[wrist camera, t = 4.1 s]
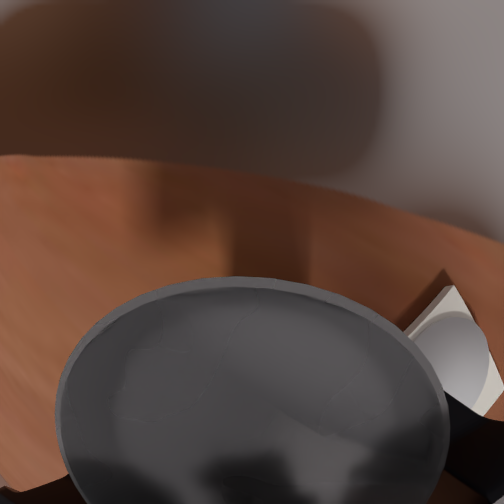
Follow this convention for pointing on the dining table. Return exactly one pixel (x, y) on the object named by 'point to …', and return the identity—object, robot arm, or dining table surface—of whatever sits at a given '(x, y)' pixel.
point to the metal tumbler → (250, 401)
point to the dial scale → (457, 351)
